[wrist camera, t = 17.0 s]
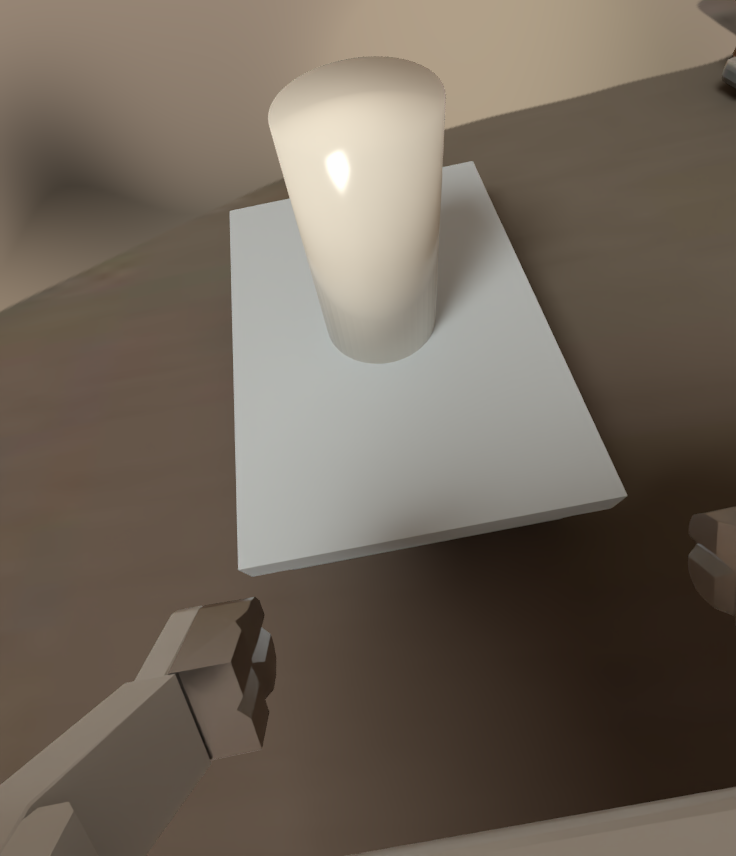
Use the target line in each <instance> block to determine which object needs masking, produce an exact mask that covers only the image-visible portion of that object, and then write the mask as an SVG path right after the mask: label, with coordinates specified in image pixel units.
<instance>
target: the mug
mask: <svg viewBox="0 0 736 856" xmlns="http://www.w3.org/2000/svg"><path fill="white" fill-rule="evenodd" d="M722 80H723V81H724V82H725V83H727V84H729V85H730V86H732V87H734V88H736V48H735V50H734V52H733V58H731V59H728V61H727V63H726V65H725V67H724V70H723V73H722Z"/></svg>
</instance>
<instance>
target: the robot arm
mask: <svg viewBox="0 0 736 856" xmlns="http://www.w3.org/2000/svg"><path fill="white" fill-rule="evenodd" d="M689 536H690V537H691V538H692V539H693V541H694V542H695V543H696V546H695V547H694V548H693V550H692V551H691V553H690V554H689V555H688V572H689V575H690V577H691V580H692V582H693V585H694V587H695V588H696V590H697V591H698V593H699V594H700V595H701V597H702V598H703V599H704V600H705V601H706V602H708V603H709V604H710V605H711V606H712V607H713V608H715V609H718V610H720V611H723V612H725V613H728V614H731V615H733V617H734V623H735V627H736V506H734V507H729V508H724V509H719V510H714V511H709V512H704V513H699V514H695V515H693V516H692V518H691V520H690V522H689ZM263 619H264V612H263V609H262V606H261V603H260V600H258V599H257V598H256V597H251V598H245V599H239V600H233V601H227V602H221V603H215V604H209V605H204V606H197V607H192V608H187V609H182V610H178V611H176V612H174V613H173V614H172V615H171V616H170V618H169V620H168V622H167V623H166V625H165V627H164V629H163V631H162V632H161V634H160V636H159V638H158V639H157V641H156V643H155V645H154V647H153V648H152V650H151V652H150V654H149V656H148V657H147V659H146V661H145V663H144V664H143V666H142V668H141V670H140V672H139V673H138V675H137V677H136V679H135V680H134V681H133V682H128V683H125V684H123V685H122V686H121V687H120V688H118V689H117V690H116V691H115V692H114V693H112V694H111V695H110V696H109V697H107V698H106V699H105V700H104V701H103V702H101V703H100V704H99V705H98V706H96V707H95V708H94V709H93V710H92V711H90V712H89V713H88V714H87V715H85V716H84V717H83V718H82V719H81V720H79V721H78V722H77V723H76V724H74V725H73V726H72V727H71V728H70V729H68V730H67V731H66V732H65V733H63V734H62V735H61V736H60V737H59V738H57V739H56V740H55V741H54V742H52V743H51V744H50V745H49V746H47V747H46V748H45V749H44V750H43V751H41V752H40V753H39V754H38V755H36V756H35V757H34V758H33V759H32V760H30V761H29V762H28V763H27V764H25V765H24V766H23V767H22V768H21V769H19V770H18V771H17V772H16V773H14V774H13V775H12V776H11V777H10V778H8V779H7V780H6V781H5V782H3V783H2V784H1V785H0V856H146V855H147V853H148V852H149V850H150V849H151V848H152V846H153V845H154V843H155V842H156V841H157V839H158V838H159V836H160V835H161V834H162V832H163V831H164V829H165V828H166V827H167V825H168V824H169V822H170V821H171V820H172V818H173V817H174V815H175V814H176V813H177V811H178V810H179V808H180V807H181V806H182V804H183V803H184V801H185V800H186V799H187V797H188V796H189V794H190V793H191V792H192V790H193V789H194V787H195V786H196V785H197V783H198V782H199V780H200V779H201V778H202V776H203V775H204V773H205V772H206V771H207V769H208V768H209V766H210V765H211V761H210V760H215V759H220V758H224V757H229V756H234V755H238V754H243V753H247V752H252V751H257V750H261V749H262V747H263V741H264V736H265V731H266V726H267V721H268V716H269V710H268V707H267V703H266V700H265V699H266V698H267V697H268V695H269V694H270V693H271V692H272V691H273V690H274V685H275V679H276V654H275V648H274V643H273V640H272V637H271V634H270V633H268V632H267V631H266V630H264V629H263V628H262V623H263ZM347 856H736V787H732V788H726V789H720V790H715V791H709V792H703V793H698V794H692V795H686V796H681V797H675V798H669V799H664V800H658V801H652V802H647V803H641V804H635V805H630V806H624V807H618V808H613V809H607V810H601V811H596V812H590V813H584V814H579V815H573V816H567V817H562V818H556V819H550V820H545V821H539V822H533V823H528V824H522V825H516V826H510V827H505V828H499V829H493V830H488V831H482V832H476V833H471V834H465V835H459V836H454V837H448V838H443V839H437V840H431V841H426V842H420V843H414V844H409V845H403V846H397V847H392V848H386V849H380V850H375V851H369V852H363V853H358V854H352V855H347Z"/></svg>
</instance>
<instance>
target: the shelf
mask: <svg viewBox="0 0 736 856" xmlns="http://www.w3.org/2000/svg"><path fill="white" fill-rule="evenodd" d="M230 246H231V288H232V330H233V371H234V413H235V455H236V497H237V538H238V570H239V571H241V572H244V573H246V574H248V575H250V576H252V577H253V576H259V575H264V574H269V573H274V572H280V571H285V570H290V569H292V570H295V569H300V568H306V567H311V566H316V565H321V564H327V563H332V562H337V561H342V560H348V559H353V558H358V557H363V556H369V555H374V554H379V553H384V552H390V551H395V550H400V549H406V548H411V547H416V546H421V545H427V544H432V543H437V542H442V541H448V540H453V539H458V538H463V537H469V536H474V535H479V534H484V533H490V532H495V531H500V530H505V529H511V528H516V527H521V526H527V525H532V524H537V523H542V522H548V521H553V520H558V519H562V518H564V517H569V516H574V515H579V514H585V513H590V512H595V511H600V510H606V509H611V508H613V507H614V506H615V505H616V504H618V503H619V502H620V501H622V500H623V499H624V498H625V497H627V496H628V495H627V493H626V491H625V489H624V487H623V485H622V482H621V480H620V478H619V476H618V474H617V472H616V470H615V467H614V465H613V463H612V461H611V459H610V457H609V454H608V452H607V450H606V448H605V446H604V444H603V441H602V439H601V437H600V435H599V433H598V431H597V429H596V426H595V424H594V422H593V420H592V418H591V416H590V413H589V411H588V409H587V407H586V405H585V403H584V400H583V398H582V396H581V394H580V392H579V390H578V387H577V385H576V383H575V381H574V379H573V377H572V375H571V372H570V370H569V368H568V366H567V364H566V362H565V359H564V357H563V355H562V353H561V351H560V349H559V346H558V344H557V342H556V340H555V338H554V336H553V334H552V331H551V329H550V327H549V325H548V323H547V321H546V318H545V316H544V314H543V312H542V310H541V308H540V305H539V303H538V301H537V299H536V297H535V295H534V292H533V290H532V288H531V286H530V284H529V282H528V280H527V277H526V275H525V273H524V271H523V269H522V267H521V264H520V262H519V260H518V258H517V256H516V254H515V251H514V249H513V247H512V245H511V243H510V241H509V239H508V236H507V234H506V232H505V230H504V228H503V226H502V223H501V221H500V219H499V217H498V215H497V213H496V210H495V208H494V206H493V204H492V202H491V200H490V197H489V195H488V193H487V191H486V189H485V187H484V185H483V182H482V180H481V178H480V176H479V174H478V172H477V169H476V167H475V165H474V163H473V161H471V162H466V163H461V164H457V165H452V166H447V167H442V189H441V211H440V233H439V255H438V277H437V299H436V320H435V326H434V330H433V332H432V334H431V336H430V338H429V339H428V341H427V342H426V343H425V344H424V345H423V346H422V347H421V348H420V349H419V350H418V351H416V352H415V353H413V354H412V355H410V356H408V357H406V358H404V359H401V360H398V361H395V362H391V363H384V364H371V363H364V362H360V361H357V360H354V359H352V358H349V357H348V356H346V355H344V354H343V353H342V352H340V351H339V350H338V349H337V348H336V347H335V346H334V344H333V343H332V341H331V339H330V337H329V334H328V331H327V327H326V324H325V320H324V317H323V313H322V310H321V306H320V303H319V299H318V296H317V292H316V289H315V285H314V282H313V278H312V275H311V271H310V268H309V264H308V261H307V257H306V253H305V250H304V246H303V243H302V239H301V236H300V232H299V229H298V225H297V222H296V218H295V215H294V211H293V208H292V204H291V201H290V199H286V200H281V201H276V202H271V203H266V204H261V205H256V206H251V207H247V208H242V209H237V210H232V211H230Z"/></svg>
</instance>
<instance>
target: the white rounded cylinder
mask: <svg viewBox="0 0 736 856" xmlns="http://www.w3.org/2000/svg"><path fill="white" fill-rule="evenodd" d="M445 99H446V95H445V89H444V86H443V84H442V82H441V80H440V79H439V78H438V77H437V76H436V75H435V74H434V73H433V72H432V71H430V70H429V69H428V68H426V67H424V66H422V65H419V64H417V63H415V62H411V61H408V60H404V59H399V58H392V57H359V58H351V59H346V60H341V61H337V62H333V63H330V64H326V65H323V66H321V67H318V68H316V69H313V70H311V71H309V72H307V73H305V74H303V75H301V76H300V77H298V78H296V79H295V80H293V81H292V82H290V83H289V84H288V85H287V86H286V87H284V88H283V89H282V90H281V91H280V93H279V94H278V95H277V96H276V97H275V99H274V100H273V102H272V104H271V107H270V109H269V114H268V122H269V126H270V130H271V134H272V137H273V141H274V144H275V148H276V151H277V155H278V158H279V162H280V165H281V169H282V172H283V176H284V180H285V183H286V187H287V190H288V194H289V197H290V201H291V204H292V208H293V211H294V215H295V218H296V222H297V225H298V229H299V232H300V236H301V239H302V243H303V246H304V250H305V253H306V257H307V261H308V264H309V268H310V271H311V275H312V278H313V282H314V285H315V289H316V292H317V296H318V299H319V303H320V306H321V310H322V313H323V317H324V320H325V324H326V327H327V331H328V334H329V337H330V339H331V341H332V343H333V344H334V346H335V347H336V348H337V349H338V350H339V351H340V352H342V353H343V354H344V355H346V356H348V357H349V358H352V359H354V360H357V361H360V362H364V363H371V364H384V363H391V362H395V361H398V360H401V359H404V358H406V357H408V356H410V355H412V354H413V353H415V352H416V351H418V350H419V349H420V348H421V347H422V346H423V345H424V344H425V343H426V342H427V341H428V339H429V338H430V336H431V334H432V332H433V330H434V326H435V320H436V299H437V277H438V255H439V233H440V211H441V189H442V167H443V145H444V123H445Z"/></svg>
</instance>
